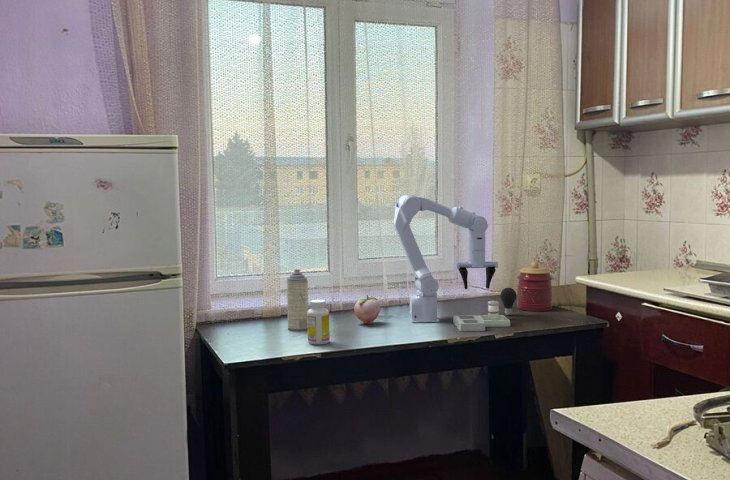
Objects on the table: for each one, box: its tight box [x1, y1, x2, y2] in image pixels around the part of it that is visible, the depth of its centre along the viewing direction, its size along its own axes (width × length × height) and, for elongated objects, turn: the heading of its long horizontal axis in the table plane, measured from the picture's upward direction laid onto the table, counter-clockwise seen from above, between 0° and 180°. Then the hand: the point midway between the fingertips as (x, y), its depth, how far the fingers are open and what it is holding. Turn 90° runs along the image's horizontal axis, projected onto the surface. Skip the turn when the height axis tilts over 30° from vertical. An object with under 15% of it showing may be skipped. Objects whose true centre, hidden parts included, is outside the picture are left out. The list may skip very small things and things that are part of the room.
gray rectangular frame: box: [452, 314, 486, 332], centre depth 232 cm, size 8×13×2 cm, turn 3°
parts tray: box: [476, 314, 511, 328], centre depth 236 cm, size 9×9×2 cm
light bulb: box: [499, 287, 517, 317], centre depth 249 cm, size 6×6×10 cm
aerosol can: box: [286, 268, 309, 332], centre depth 231 cm, size 7×7×20 cm
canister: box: [516, 261, 554, 312], centre depth 261 cm, size 13×13×18 cm
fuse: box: [487, 300, 500, 321], centre depth 236 cm, size 4×4×7 cm
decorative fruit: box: [353, 294, 381, 325], centre depth 238 cm, size 9×8×10 cm
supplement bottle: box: [307, 299, 331, 346], centre depth 213 cm, size 7×7×13 cm
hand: (476, 288), depth 245 cm, fingers open, 7 cm apart
